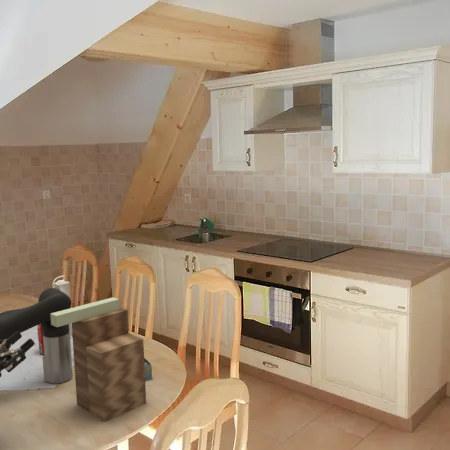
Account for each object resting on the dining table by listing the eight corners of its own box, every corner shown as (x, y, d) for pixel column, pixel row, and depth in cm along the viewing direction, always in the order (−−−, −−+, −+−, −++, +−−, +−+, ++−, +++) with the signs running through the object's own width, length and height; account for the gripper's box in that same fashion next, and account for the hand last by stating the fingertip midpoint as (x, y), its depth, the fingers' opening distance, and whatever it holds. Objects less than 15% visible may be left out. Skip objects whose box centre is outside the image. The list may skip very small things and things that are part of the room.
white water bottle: (58, 335, 235) (53, 275, 231) (76, 335, 235) (72, 274, 231) (51, 343, 227) (46, 280, 223) (70, 342, 227) (65, 279, 222)
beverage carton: (131, 385, 186) (131, 367, 185) (114, 365, 202) (113, 349, 201) (152, 379, 190) (152, 362, 189) (134, 361, 206) (133, 345, 205)
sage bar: (56, 327, 158) (56, 316, 157) (51, 324, 160) (50, 313, 159) (119, 309, 173) (119, 299, 173) (113, 307, 176) (113, 297, 175)
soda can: (47, 357, 211) (45, 326, 209) (35, 353, 215) (33, 323, 213) (61, 350, 217) (59, 320, 215) (49, 347, 221) (47, 318, 219)
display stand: (104, 421, 161) (98, 328, 156) (77, 404, 172) (71, 316, 167) (146, 402, 172) (142, 314, 167) (118, 387, 183) (113, 304, 178)
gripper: (-20, 377, 138) (30, 333, 147) (-39, 361, 148) (8, 322, 157) (-3, 395, 142) (44, 352, 151) (-23, 379, 152) (22, 339, 161)
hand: (26, 337), depth 154 cm, fingers open, 8 cm apart
